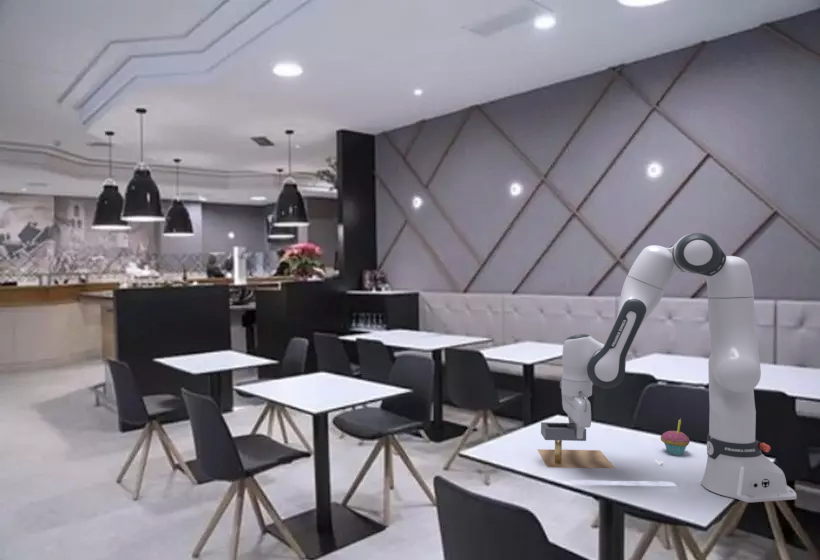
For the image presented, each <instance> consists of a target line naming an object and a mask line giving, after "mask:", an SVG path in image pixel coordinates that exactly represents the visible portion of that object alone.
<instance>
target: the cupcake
mask: <svg viewBox="0 0 820 560" xmlns="http://www.w3.org/2000/svg"><path fill="white" fill-rule="evenodd" d="M681 419H682V418H680V419H678V423H677V430H667V431H665V432H663V433H662V434H661V436H660V440H661V442H662V443H664V446H665V448H666V449H665V450H666V452H667V453H668V454H669V455H671V456H683V455H684V453H685V451H686V448H687V446H689V444H690V442H691V440H690V438H689V436H688V435H686V434H685V433H684V432H682V431H681V430H680V429H681V424H682V420H681Z"/></svg>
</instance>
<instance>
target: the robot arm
mask: <svg viewBox="0 0 820 560" xmlns="http://www.w3.org/2000/svg"><path fill="white" fill-rule="evenodd" d="M680 272H681V273H682V272H683V273H688V274H693V275H694V274H699V275H701V276H703V277H704V280H705V281H706V285H707V286H706V287H707V307H708V308H707V310H708V311H707V313H708V328H709V330H708V331H709V338H710V339H709V340H710V347H711V348H710V349H711V353H710V354H709V357H708V363H707V365H708V397H709V398H708V400H709V402H708V403H709V418H708V419H709V421H708V422H709V423H708V424H709V427H708V429H709V430H708V433H707V437H706V438H707V439H706V455H707V458H706V464H705V465H706V467H705V470H704V474H703V478H702V481H701V485H702V486H703V488H705V490H708V491H710V492H712V493H715V494H717V495H720V496H724V497H728V498H732V499H736V500H739V501H742V502H745V503H759V502H760V503H762V502H776V501H777V502H778V501H788V500H789V501H792V500H797V499H798V498H797V497H798V496H797V493H796V491H795V490H794V489H793V488H792V487H791V486H789V485H787V480H786V476H785V473H784V471H783V470H782V468H780V467H779V466H778V465H776V464H775V463H774V462H773V461H771V460H770V459H769V458H768V457H766V456H765V455H764V454H763V453H762V451H763V452H765V453H769V452H770V451H771V446H770V445H769V444H768V443H767V444H766V442H761V441H759V440H757V439H756V424H757V423H756V420H757V419H756V417H757V416H756V415H757V411H756V403H755V402H756V401H755V391H754V390H755V388H756V387H757V386H758V384H759V383H760V380H761V377H762V376H761V375H762V371H761V362H760V361H761V360H760V351H759V343H758V342H759V341H758V335H757V331H756V330H757V328H756V313H755V311H756V310H755V293H754V283H753V278H752V277H753V276H752V274H751V268H750V266H749V263H748V262H747V260H745V259H744V258H742V257H739V256H735V255H726V254H725V252H724V250H722V248H721V246H720V245H719V243H718V242H717V241H716V240H715V239H714V238H713V237H712V236H710V235H708V234H706V233H703V232H702V233H701V232H694V233H693V232H692V233H689V234H686V235H684V236H682V237H681V238H679V240H677V242H674V244H672V245H671V246H670V247H665V246H661V245H659V244H658V245H655V244H653V245H652V244H651V245H647V246H646V247H644V248H643V249H642V250H641V252H640V253H639V254H638V256H637V257H636V259H635V260H634V262H633V264H632V266H631V268H629V271H628V274H627V275H626V277H625V280H624V282H623V286H622V289H621V293H620V295H619V296H620V297H619V301H618V303H619V305H618V310H617V311H618V312H617V316H616V319H615V321H614V325H613V327H612V328H611V330H610V333H609V335H608V337H607V339H606V342H605V343H602V342H600V341H598V340H596V339H595V338H594V337H592V336H591V335H589V334H586V333H585V334H574V335H571V336H569V337H567V338H566V339H565V340H564V342H563V346H562V354H561V355H562V357H561V362H562V363H561V365H562V367H563V368H562V369H563V370H562V375H561V381H560V382H559V388H560V389H561V405H562V410H563V411H564V412H565V413H566V415H567V419H568V423H576V427H577V431H576V437H577V438H578V439H582V438H583V432H584V429H586V428H587V429H589V428H590V427H591V425H592V410H591V409H592V407H591V406H592V405H591V402H590V400H589V399H588V398H589V397H591V396H592V395H593V384H594V385H595V386H597V387H599V388H601V389H607V390H608V389H613V388H616V387H618V386H620V384H621V383H623V381H624V379H625V376H626V365H627V361H626V359H627V356H628V352H629V350H630V349H631V346H632V344H633V342H634V341H635V340H634V339H635V338H636V335H637V333H638V331H639V330H640V328H641V326H642V325H643V323H644V322H645V321H646V320H647V319H648V318H649V316H650V315H651V314H652V313H653V312H654V311H655V309H656V307H657V306H658V305H659V304H660V302H661V300H662V298H663V296H664V294H665V293H666V290H667V288H668V286H669V284H670V281H672V278H673V277H674V276H675V275H676V274H677V273H680Z"/></svg>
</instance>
